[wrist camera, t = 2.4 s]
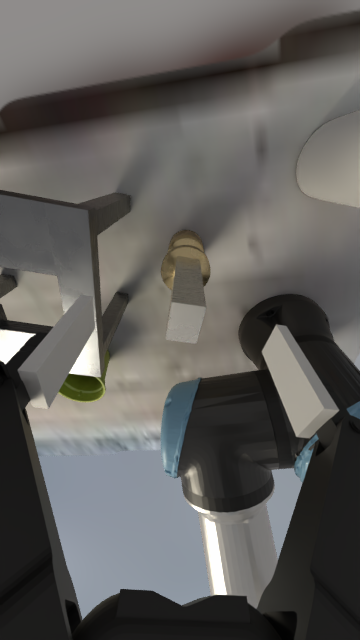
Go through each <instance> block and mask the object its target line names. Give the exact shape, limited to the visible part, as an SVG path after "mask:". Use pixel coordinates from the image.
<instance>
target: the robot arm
mask: <svg viewBox="0 0 360 640" xmlns="http://www.w3.org/2000/svg"><path fill="white" fill-rule="evenodd" d="M94 329H95V321H94V310H93V298H92V296H86V295H80V296H79V298H78V299H77V300H76V301H75V302H74V303H73V305H72V306H71V307H70V308H69V309H68V311H67V312H66V313H65V314H64V315H63V317H62V318H61V319H60V320H59V321H58V322H57V324H56V325H55V326H54V327H53V328H52V330H51V331H50V332H49V333H42V332H39V333H37V334H36V335H34V336H32V337H30V338H29V339H28V341H27V342H26V343H25V344H24V346H22V347H21V348H20V349H19V351H17V352H16V354H15V355H14V356H13V357H12V358H11V359H10V360H9V361H8V362H7V363H6V364H5V363H4V362H2V361H0V640H360V371H359V370H358V369H357V367H356V366H355V365H354V364H353V363H352V362H351V360H350V359H349V358H348V357H347V356H346V355H345V354H344V352H343V351H342V350H341V349H340V348H339V347H338V345H337V344H336V343H335V342H334V339H333V336H332V334H331V332H330V329H329V322H328V318H327V316H326V314H325V313H324V311H323V310H322V309H321V308H320V307H319V306H318V305H317V304H316V303H315V302H314V301H313V300H311V299H309V298H307V297H304V296H301V295H293V294H288V295H280V296H276V297H272V298H269V299H267V300H265V301H263V302H261V303H259V304H258V305H256V306H255V307H254V308H252V309H251V310H250V311H249V312H248V313H247V314H246V316H245V317H244V318H243V320H242V322H241V324H240V327H239V333H238V336H239V341H240V344H241V347H242V350H243V352H244V353H245V355H246V356H247V357H248V358H249V359H250V360H251V361H253V363H254V364H255V366H256V367H257V368H258V369H259V370H258V371H250V372H244V373H237V374H230V375H223V376H216V377H210V378H203V379H202V378H198V379H197V380H192V381H187V382H182V383H178V384H176V385H175V386H174V387H173V388H172V389H171V390H170V392H169V393H168V396H167V398H166V401H165V405H164V410H163V416H162V425H161V457H162V463H163V467H164V469H165V472H166V474H167V475H168V476H170V477H173V478H178V477H179V476H180V477H181V480H182V487H183V493H184V497H185V499H186V501H187V502H188V503H189V505H191V506H192V507H193V508H195V509H196V510H198V514H199V521H200V527H201V533H202V540H203V547H204V553H205V559H206V566H207V573H208V579H209V586H210V592H211V596H208V597H203V598H199V599H197V600H194V601H192V602H189V603H187V604H184V605H182V606H181V605H179V604H177V603H175V602H173V601H172V600H170V599H168V598H166V597H163V596H161V595H160V594H158V593H156V592H154V591H147V590H128V589H121V590H120V593H118V594H116V595H113V596H111V597H109V598H107V599H106V600H104V601H102V602H101V603H100V604H99V605H97V606H96V607H95V608H94V609H93V610H92V611H91V612H90V613H89V614H88V615H87V616H86V617H85V618H84V619H83V620H82V616H81V613H80V609H79V605H78V601H77V597H76V593H75V590H74V587H73V583H72V580H71V577H70V574H69V571H68V569H67V566H66V562H65V558H64V554H63V550H62V546H61V542H60V539H59V535H58V531H57V527H56V523H55V519H54V516H53V512H52V508H51V504H50V500H49V496H48V492H47V489H46V485H45V481H44V477H43V473H42V469H41V465H40V461H39V458H38V454H37V450H36V446H35V442H34V438H33V434H32V431H31V427H30V423H29V419H28V415H27V411H26V409H25V407H26V405H27V404H28V403H29V401H30V402H31V404H32V406H33V407H37V408H46V409H49V407H50V405H51V404H52V402H53V400H54V398H55V397H56V395H57V393H58V392H59V390H60V388H61V386H62V385H63V383H64V381H65V379H66V378H67V376H68V374H69V372H70V371H71V369H72V367H73V365H74V364H75V362H76V360H77V359H78V357H79V355H80V353H81V352H82V350H83V348H84V346H85V345H86V343H87V341H88V339H89V338H90V336H91V334H92V333H93V331H94ZM285 468H294V470H295V473H296V475H297V476H298V477H299V478H300V480H301V481H302V483H303V484H302V487H301V490H300V493H299V496H298V499H297V502H296V506H295V509H294V512H293V515H292V518H291V521H290V525H289V528H288V531H287V534H286V537H285V541H284V544H283V547H282V550H281V553H280V556H279V559H277V554H276V549H275V545H274V540H273V536H272V531H271V526H270V521H269V516H268V511H267V507H266V503H267V501H268V500H269V499H270V498H271V497H272V495H273V492H274V486H275V485H274V480H273V476H272V472H271V470H274V469H285Z"/></svg>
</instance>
